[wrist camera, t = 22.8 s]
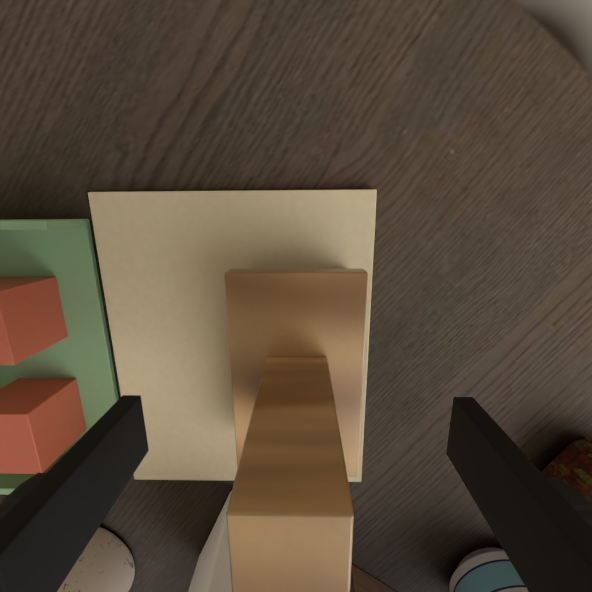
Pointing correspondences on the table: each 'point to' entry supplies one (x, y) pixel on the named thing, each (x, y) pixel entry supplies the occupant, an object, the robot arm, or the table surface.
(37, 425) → the cube
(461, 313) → the table surface
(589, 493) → the toy car
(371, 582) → the tissue box cover
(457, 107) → the table surface
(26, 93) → the table surface
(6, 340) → the cube
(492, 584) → the beverage can
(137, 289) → the mat
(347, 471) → the brush
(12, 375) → the dustpan
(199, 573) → the container
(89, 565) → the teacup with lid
